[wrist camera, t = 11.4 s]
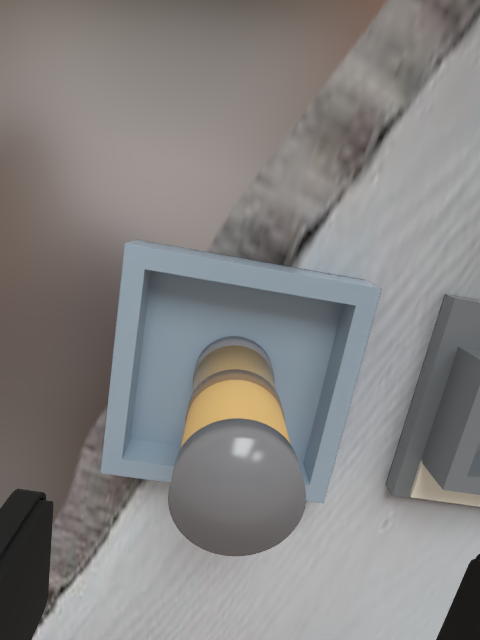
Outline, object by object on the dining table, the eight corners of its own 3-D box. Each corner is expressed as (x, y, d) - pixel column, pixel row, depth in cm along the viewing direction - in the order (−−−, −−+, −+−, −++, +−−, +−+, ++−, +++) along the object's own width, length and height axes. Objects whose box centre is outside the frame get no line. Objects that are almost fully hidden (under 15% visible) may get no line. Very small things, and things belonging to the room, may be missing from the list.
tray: (137, 239, 21) (125, 243, 18) (364, 279, 22) (381, 288, 19) (113, 446, 24) (100, 473, 21) (314, 474, 25) (323, 503, 22)
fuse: (201, 330, 21) (178, 428, 12) (279, 343, 22) (319, 449, 12) (189, 402, 22) (160, 547, 13) (264, 413, 23) (290, 563, 13)
